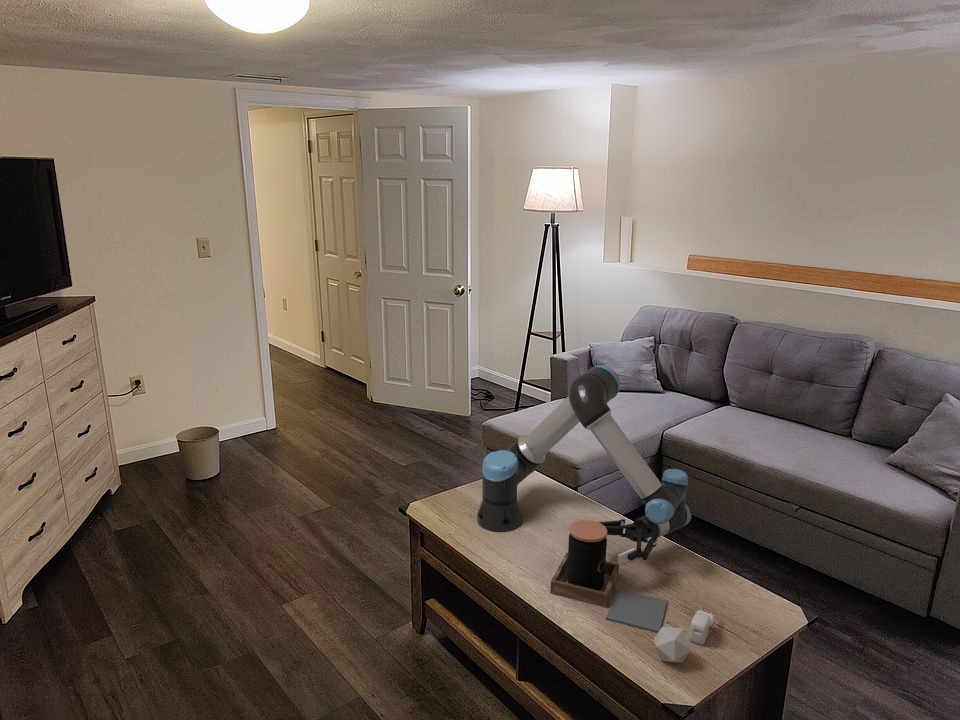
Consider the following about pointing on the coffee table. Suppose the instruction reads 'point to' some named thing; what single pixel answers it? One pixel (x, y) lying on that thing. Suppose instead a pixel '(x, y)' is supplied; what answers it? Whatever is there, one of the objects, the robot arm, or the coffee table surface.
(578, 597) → the walnut crate
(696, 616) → the power adapter
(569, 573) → the coffee jar
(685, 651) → the die
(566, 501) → the coffee table surface
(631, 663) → the coffee table surface
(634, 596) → the rubber mat
